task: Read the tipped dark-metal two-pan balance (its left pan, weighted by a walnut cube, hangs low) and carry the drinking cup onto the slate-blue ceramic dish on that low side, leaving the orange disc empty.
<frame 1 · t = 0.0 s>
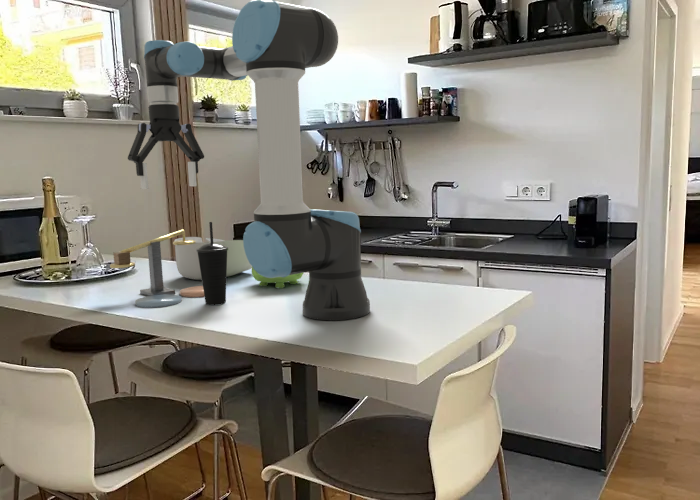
hand: (169, 187, 163), 28 cm above the table, fingers open, 13 cm apart
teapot: (275, 284, 175), on the table
drinking cup: (215, 303, 153), on the table
orange disc: (201, 292, 166), on the table
dish low side: (159, 302, 156), on the table
bowl: (210, 277, 190), on the table
balance: (157, 293, 166), on the table
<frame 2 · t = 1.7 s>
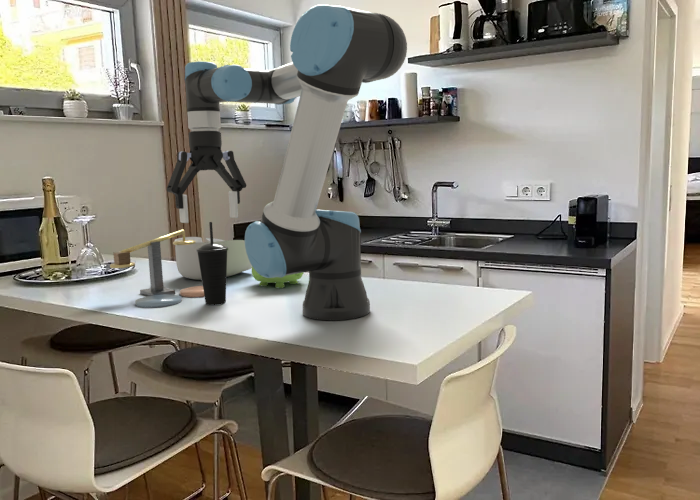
hand: (209, 220, 151), 20 cm above the table, fingers open, 13 cm apart
nothing on the table moved.
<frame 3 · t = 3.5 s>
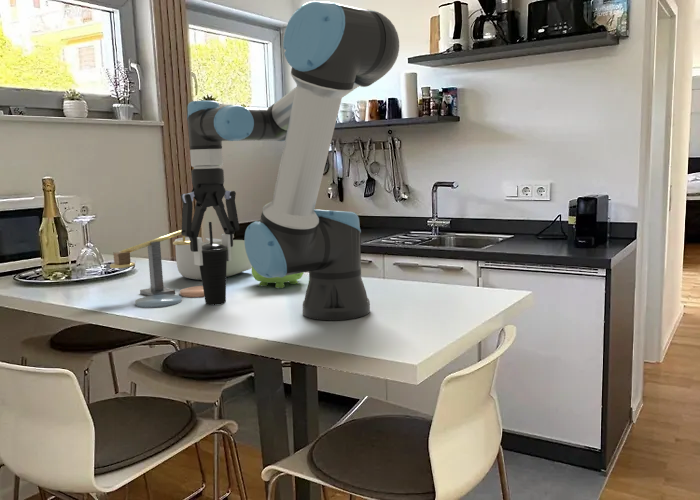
hand: (213, 262, 152), 10 cm above the table, fingers closed on drinking cup, 7 cm apart
drinking cup: (215, 303, 153), on the table, touching gripper
everything else where it was.
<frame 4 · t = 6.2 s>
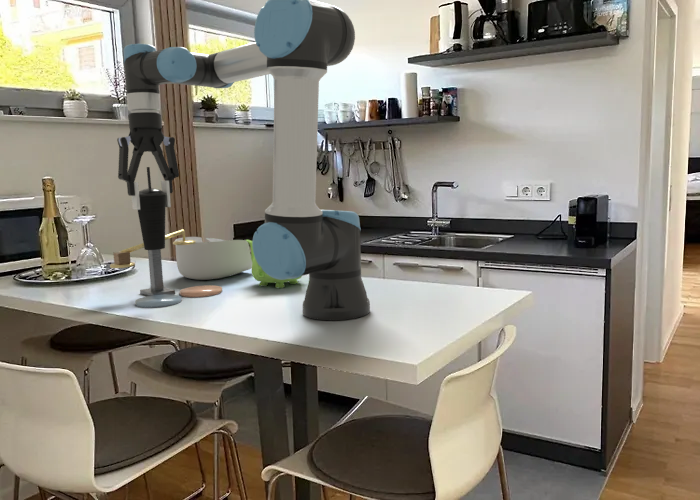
hand: (151, 208, 153), 24 cm above the table, fingers closed on drinking cup, 7 cm apart
drinking cup: (155, 249, 154), point 13 cm above the table, touching gripper
everything else where it was.
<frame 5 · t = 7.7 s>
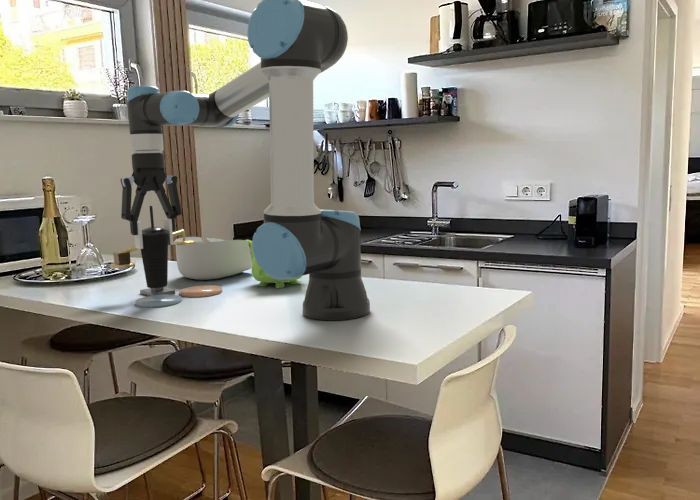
hand: (154, 246, 154), 14 cm above the table, fingers closed on drinking cup, 7 cm apart
drinking cup: (157, 286, 156), point 4 cm above the table, touching gripper
everything else where it was.
when the fingers open (12 cm above the table, at t = 9.0 s): drinking cup stays where it is, resting on dish low side.
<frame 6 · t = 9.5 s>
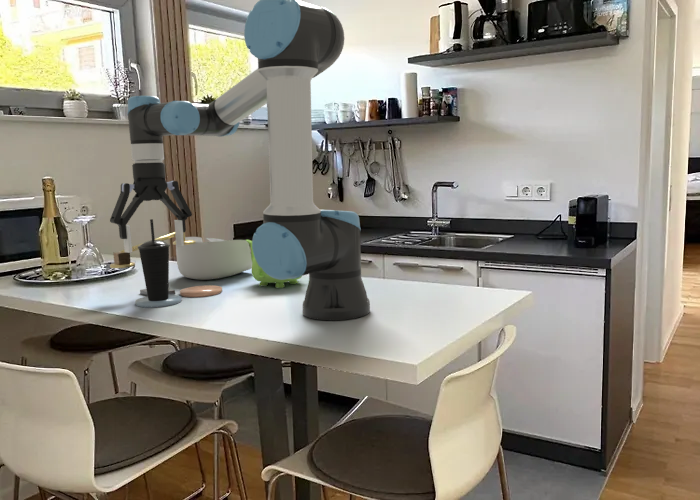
hand: (155, 249, 154), 13 cm above the table, fingers open, 13 cm apart
drinking cup: (158, 299, 156), point 1 cm above the table, touching dish low side
everything else where it was.
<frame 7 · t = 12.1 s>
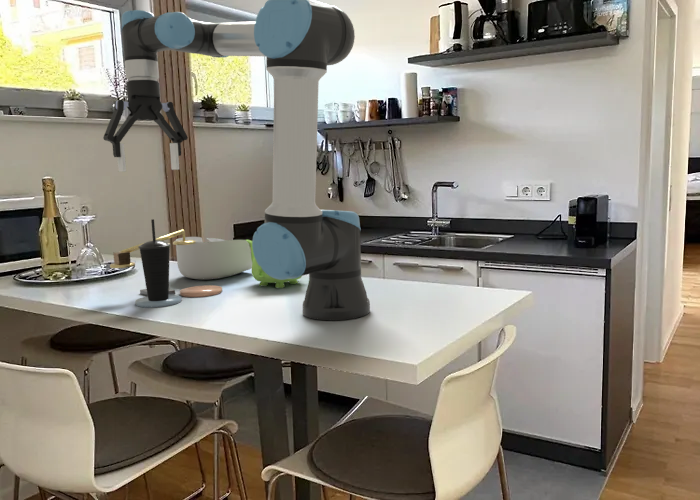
hand: (149, 170, 151), 33 cm above the table, fingers open, 13 cm apart
nothing on the table moved.
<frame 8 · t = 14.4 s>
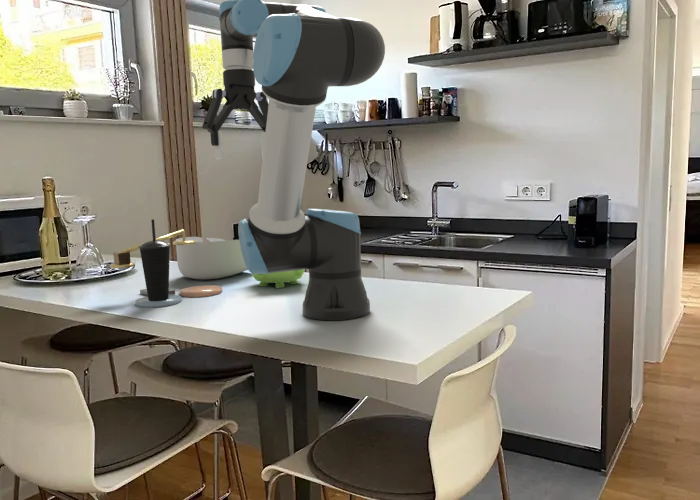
hand: (243, 159, 153), 35 cm above the table, fingers open, 13 cm apart
nothing on the table moved.
at the end: drinking cup 0.0 cm from the dish low side (horizontally); drinking cup tilted 0°; the gripper is holding nothing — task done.
